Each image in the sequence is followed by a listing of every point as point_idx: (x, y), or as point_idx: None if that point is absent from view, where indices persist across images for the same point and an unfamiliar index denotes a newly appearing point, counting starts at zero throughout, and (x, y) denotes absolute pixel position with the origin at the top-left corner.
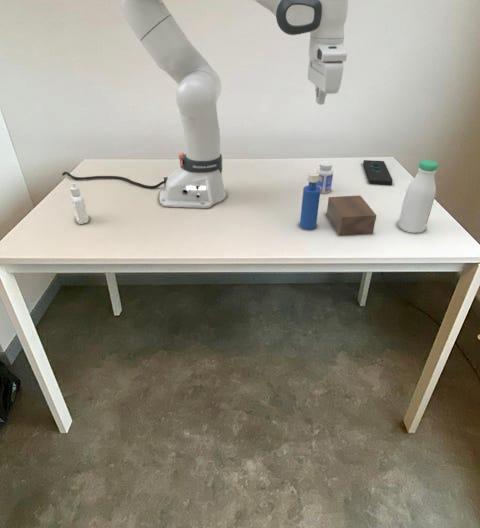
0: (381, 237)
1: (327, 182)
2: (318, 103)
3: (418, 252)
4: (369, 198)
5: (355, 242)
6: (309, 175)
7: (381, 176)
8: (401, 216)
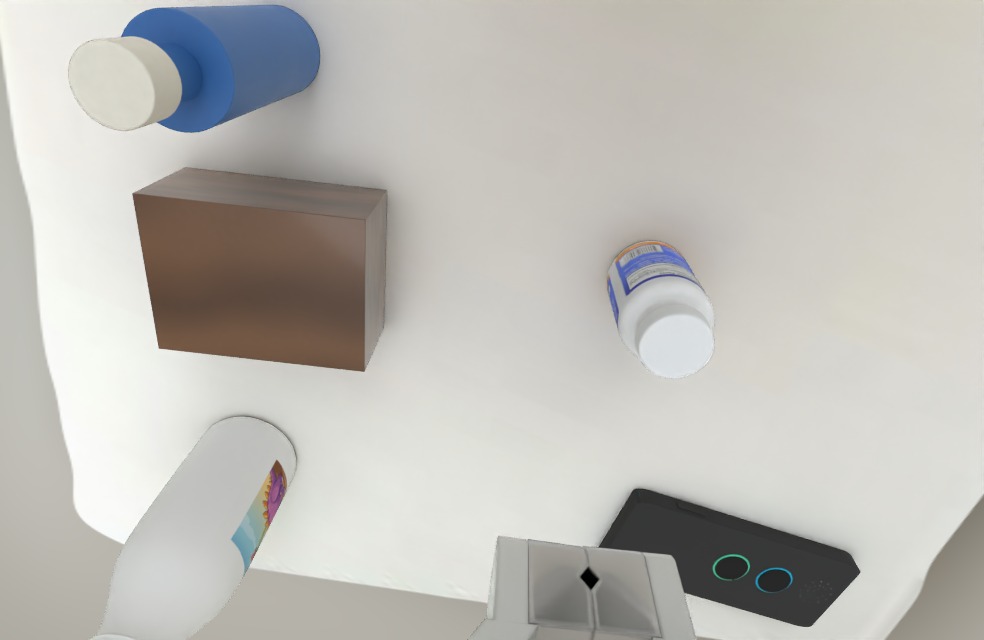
0: None
1: (613, 302)
2: (498, 542)
3: (78, 390)
4: (505, 428)
5: (132, 212)
6: (88, 42)
7: (658, 552)
8: (228, 443)
